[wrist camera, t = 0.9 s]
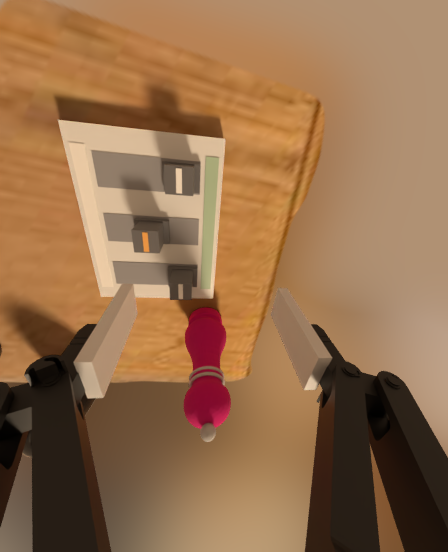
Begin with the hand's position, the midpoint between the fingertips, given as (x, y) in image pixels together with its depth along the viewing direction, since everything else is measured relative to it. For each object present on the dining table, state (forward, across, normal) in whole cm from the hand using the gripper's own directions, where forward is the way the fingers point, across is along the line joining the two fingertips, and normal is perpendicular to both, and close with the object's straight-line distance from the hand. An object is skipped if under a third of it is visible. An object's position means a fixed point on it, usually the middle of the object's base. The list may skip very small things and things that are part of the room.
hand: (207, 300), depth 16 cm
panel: (+18, -7, 0) cm, 19 cm away
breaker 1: (+16, -3, +7) cm, 18 cm away
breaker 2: (+16, -3, -7) cm, 17 cm away
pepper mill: (+18, +1, -18) cm, 26 cm away
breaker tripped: (+16, -7, 0) cm, 17 cm away
